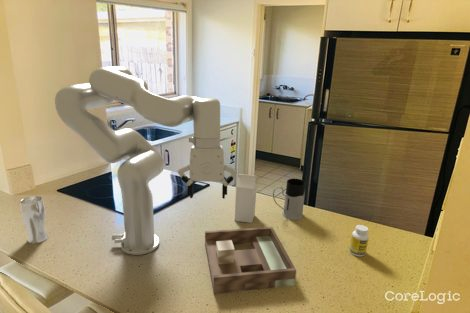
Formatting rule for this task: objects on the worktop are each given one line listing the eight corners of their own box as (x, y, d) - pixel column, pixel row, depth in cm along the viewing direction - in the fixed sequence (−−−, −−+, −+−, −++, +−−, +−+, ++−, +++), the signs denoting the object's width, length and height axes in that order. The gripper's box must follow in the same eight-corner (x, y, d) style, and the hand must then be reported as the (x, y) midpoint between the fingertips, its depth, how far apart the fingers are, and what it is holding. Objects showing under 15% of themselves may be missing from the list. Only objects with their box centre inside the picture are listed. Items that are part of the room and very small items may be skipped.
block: (218, 264, 100) (218, 250, 99) (215, 254, 105) (216, 241, 103) (234, 263, 101) (234, 249, 100) (231, 253, 106) (231, 240, 104)
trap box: (213, 293, 92) (214, 277, 90) (205, 245, 114) (205, 231, 112) (294, 285, 96) (296, 270, 95) (270, 240, 119) (272, 226, 117)
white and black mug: (306, 218, 135) (311, 185, 130) (275, 222, 131) (278, 188, 126) (297, 209, 143) (300, 177, 138) (267, 212, 139) (269, 179, 134)
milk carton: (252, 223, 129) (254, 179, 123) (234, 221, 131) (236, 177, 124) (254, 215, 136) (257, 172, 130) (237, 212, 137) (240, 170, 131)
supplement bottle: (357, 258, 110) (362, 233, 107) (345, 250, 115) (349, 225, 112) (368, 254, 113) (373, 229, 109) (356, 246, 117) (361, 222, 114)
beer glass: (54, 236, 115) (47, 198, 110) (35, 246, 109) (28, 206, 104) (40, 231, 118) (34, 193, 113) (21, 241, 112) (14, 201, 107)
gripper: (174, 145, 90) (177, 201, 95) (237, 146, 90) (236, 202, 95) (178, 138, 97) (181, 191, 102) (237, 138, 97) (236, 191, 102)
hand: (207, 196), depth 99 cm, fingers open, 9 cm apart
